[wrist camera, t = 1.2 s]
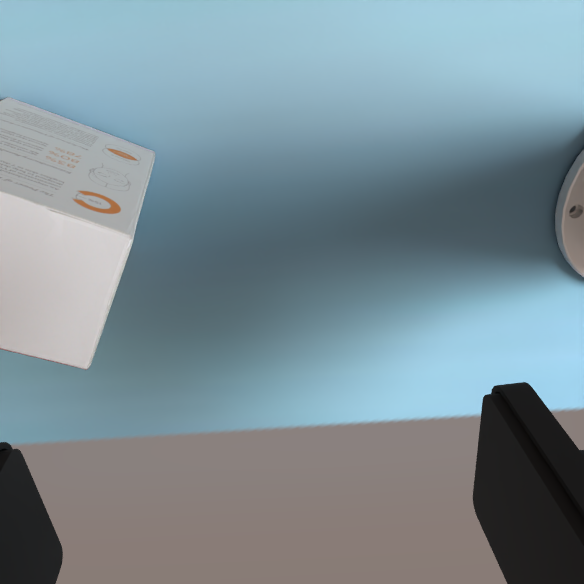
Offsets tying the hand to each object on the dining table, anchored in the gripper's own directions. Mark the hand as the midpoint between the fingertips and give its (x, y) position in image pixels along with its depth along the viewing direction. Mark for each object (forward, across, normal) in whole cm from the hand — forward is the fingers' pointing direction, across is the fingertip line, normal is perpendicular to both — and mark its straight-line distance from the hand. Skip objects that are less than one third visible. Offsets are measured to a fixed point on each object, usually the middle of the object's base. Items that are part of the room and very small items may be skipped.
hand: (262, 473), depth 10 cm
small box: (+24, +10, 0) cm, 26 cm away
